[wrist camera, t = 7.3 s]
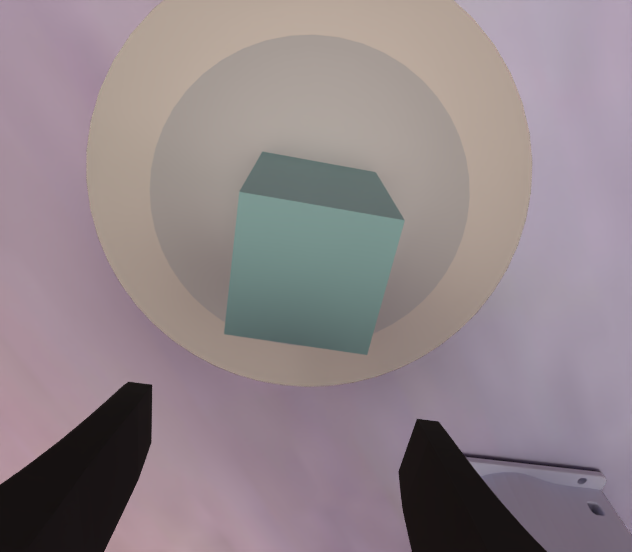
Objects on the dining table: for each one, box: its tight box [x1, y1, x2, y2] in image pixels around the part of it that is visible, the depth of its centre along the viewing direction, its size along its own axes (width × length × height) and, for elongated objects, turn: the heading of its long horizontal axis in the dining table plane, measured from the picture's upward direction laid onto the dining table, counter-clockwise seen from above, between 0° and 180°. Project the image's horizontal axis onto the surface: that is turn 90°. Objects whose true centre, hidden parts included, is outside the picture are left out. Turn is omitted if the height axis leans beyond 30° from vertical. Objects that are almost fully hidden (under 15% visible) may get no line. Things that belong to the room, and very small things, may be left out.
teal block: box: [224, 151, 405, 355], centre depth 15 cm, size 4×4×6 cm
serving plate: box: [87, 0, 532, 387], centre depth 18 cm, size 18×18×1 cm
